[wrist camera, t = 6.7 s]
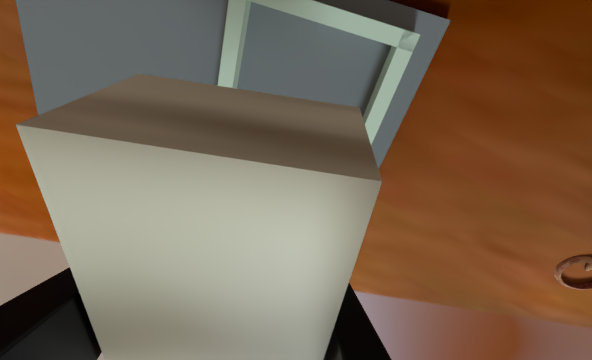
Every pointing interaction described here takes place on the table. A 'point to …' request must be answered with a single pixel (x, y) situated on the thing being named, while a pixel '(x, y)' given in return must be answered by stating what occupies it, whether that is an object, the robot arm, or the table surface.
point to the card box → (206, 216)
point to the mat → (220, 51)
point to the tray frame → (304, 5)
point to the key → (566, 263)
